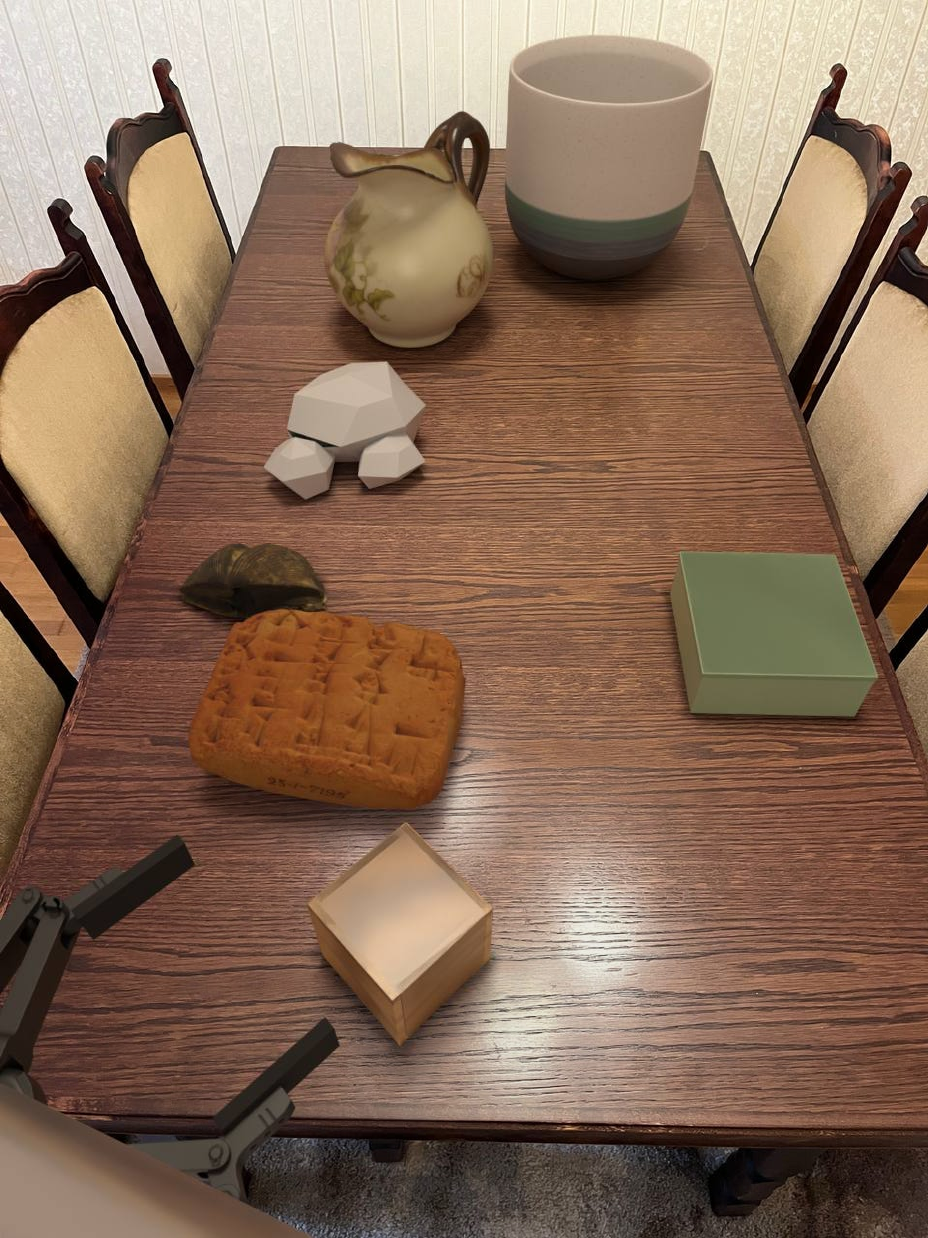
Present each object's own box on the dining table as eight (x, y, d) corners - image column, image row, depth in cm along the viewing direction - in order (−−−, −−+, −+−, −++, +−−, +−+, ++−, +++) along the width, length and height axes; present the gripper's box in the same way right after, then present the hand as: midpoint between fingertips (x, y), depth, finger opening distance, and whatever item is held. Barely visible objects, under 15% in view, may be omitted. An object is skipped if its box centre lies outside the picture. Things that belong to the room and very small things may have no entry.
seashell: (165, 616, 90) (154, 556, 86) (208, 570, 97) (200, 513, 93) (319, 646, 87) (316, 586, 83) (352, 597, 94) (350, 539, 90)
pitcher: (325, 369, 120) (300, 174, 101) (340, 280, 135) (320, 97, 117) (494, 369, 120) (500, 174, 101) (489, 280, 136) (493, 97, 117)
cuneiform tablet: (186, 795, 77) (163, 742, 71) (254, 644, 88) (239, 587, 82) (439, 840, 74) (437, 788, 68) (477, 678, 86) (478, 622, 80)
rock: (449, 482, 104) (448, 413, 97) (278, 521, 100) (263, 451, 93) (404, 395, 116) (400, 327, 109) (248, 426, 111) (233, 358, 104)
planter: (651, 218, 149) (681, 30, 129) (699, 302, 131) (742, 99, 111) (490, 227, 147) (495, 37, 126) (516, 314, 129) (527, 109, 109)
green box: (856, 717, 83) (878, 677, 78) (689, 714, 83) (702, 673, 78) (817, 596, 93) (835, 554, 88) (668, 593, 93) (679, 551, 88)
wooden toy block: (490, 958, 68) (493, 908, 61) (399, 1046, 64) (392, 1002, 57) (411, 877, 72) (405, 821, 65) (321, 954, 68) (306, 903, 61)
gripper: (-205, 1064, 48) (151, 817, 57) (4, 1559, 36) (410, 1142, 45) (-293, 1016, 42) (118, 752, 52) (-81, 1585, 30) (403, 1103, 40)
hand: (255, 934), depth 49 cm, fingers open, 13 cm apart
